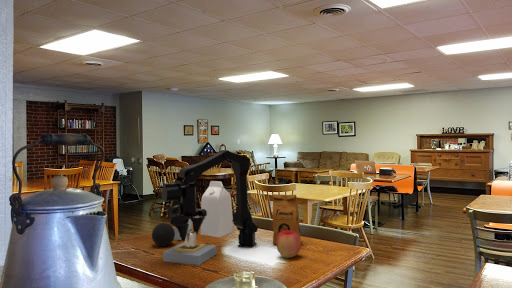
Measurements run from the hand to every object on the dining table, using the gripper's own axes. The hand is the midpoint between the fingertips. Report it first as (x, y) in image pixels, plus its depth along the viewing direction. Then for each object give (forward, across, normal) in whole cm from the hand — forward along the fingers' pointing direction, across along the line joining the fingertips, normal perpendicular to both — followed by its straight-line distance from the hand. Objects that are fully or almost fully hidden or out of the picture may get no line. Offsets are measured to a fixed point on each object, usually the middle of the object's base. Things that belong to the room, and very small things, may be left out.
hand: (189, 238), depth 151 cm
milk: (+8, -39, -8) cm, 41 cm away
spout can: (+7, 0, -1) cm, 7 cm away
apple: (+8, -12, +37) cm, 40 cm away
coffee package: (+8, -30, +31) cm, 44 cm away
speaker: (+8, -12, -21) cm, 25 cm away
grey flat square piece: (+8, 0, 0) cm, 8 cm away
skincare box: (+8, -25, -19) cm, 32 cm away
